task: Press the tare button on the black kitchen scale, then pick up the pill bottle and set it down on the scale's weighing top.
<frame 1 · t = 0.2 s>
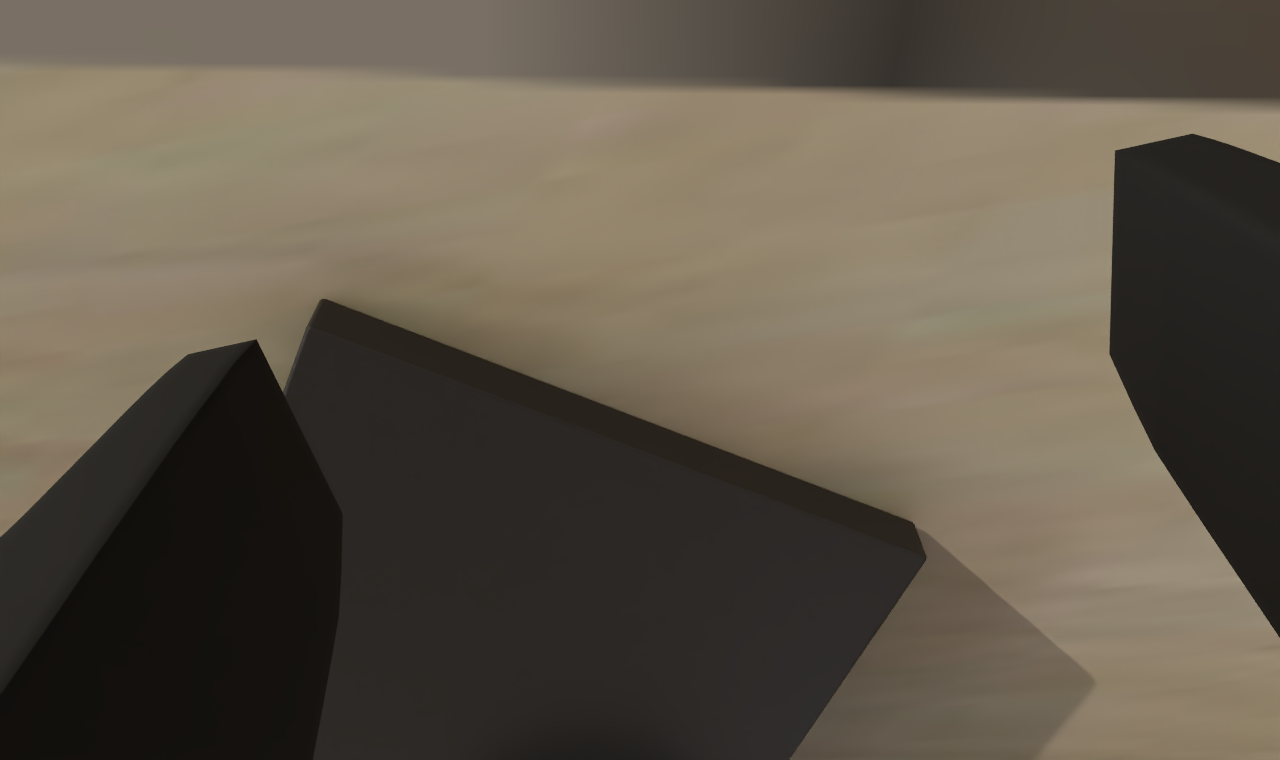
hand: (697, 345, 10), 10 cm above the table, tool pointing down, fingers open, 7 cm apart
scale: (506, 664, 25), on the table
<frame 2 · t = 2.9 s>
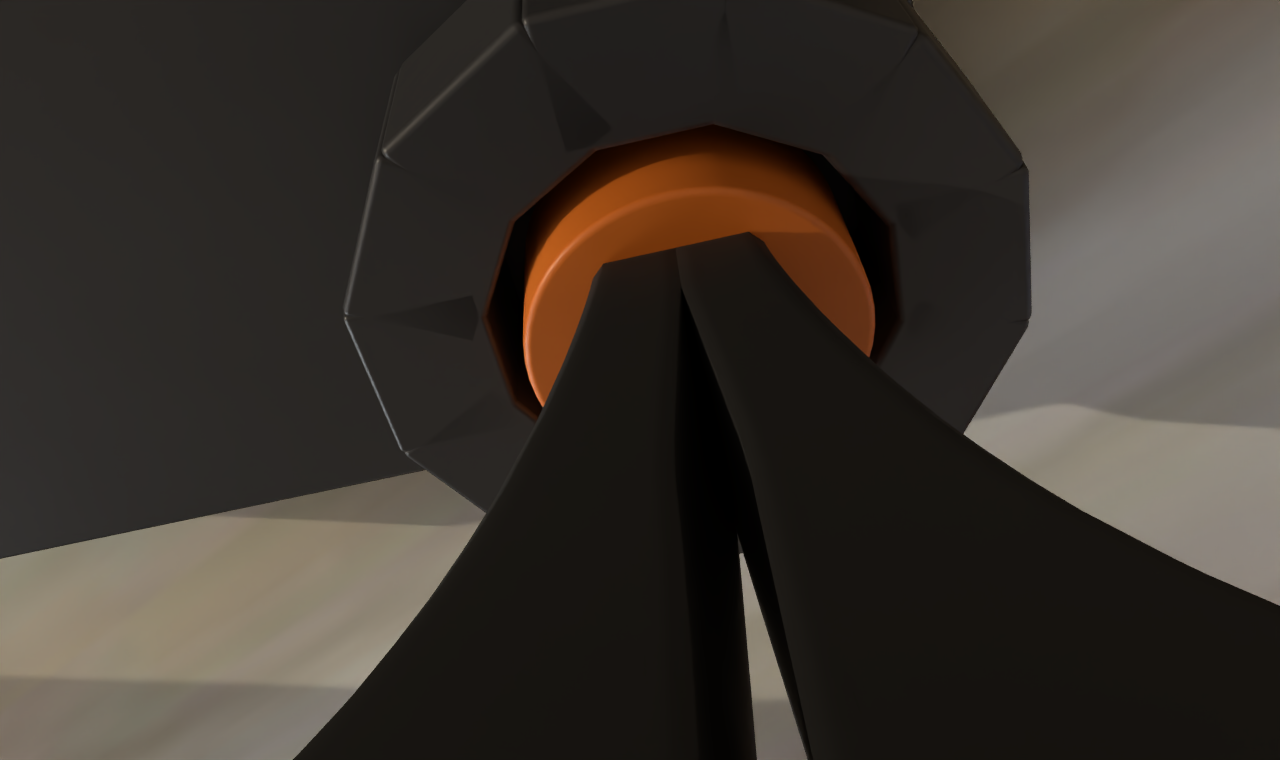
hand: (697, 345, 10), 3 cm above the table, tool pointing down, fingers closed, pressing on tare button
tare button: (691, 298, 11), point 3 cm above the table, slide at -0.6 cm, touching gripper
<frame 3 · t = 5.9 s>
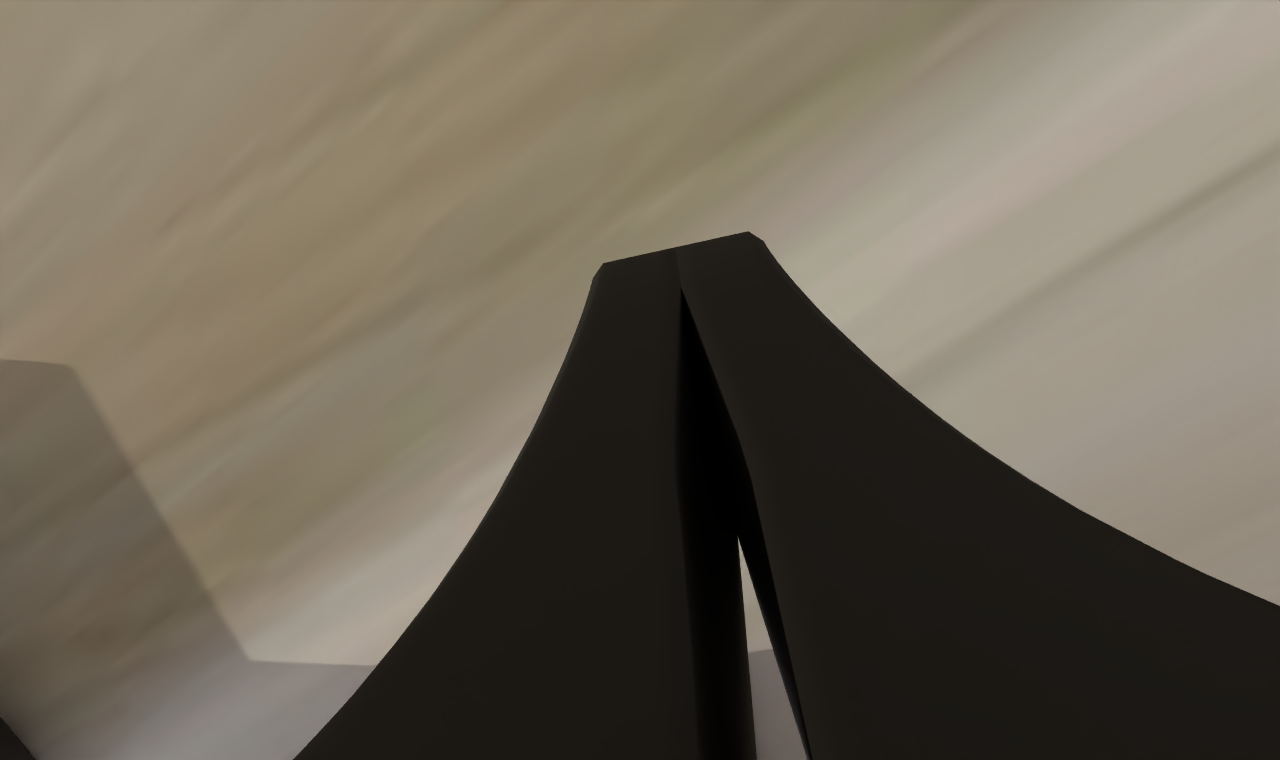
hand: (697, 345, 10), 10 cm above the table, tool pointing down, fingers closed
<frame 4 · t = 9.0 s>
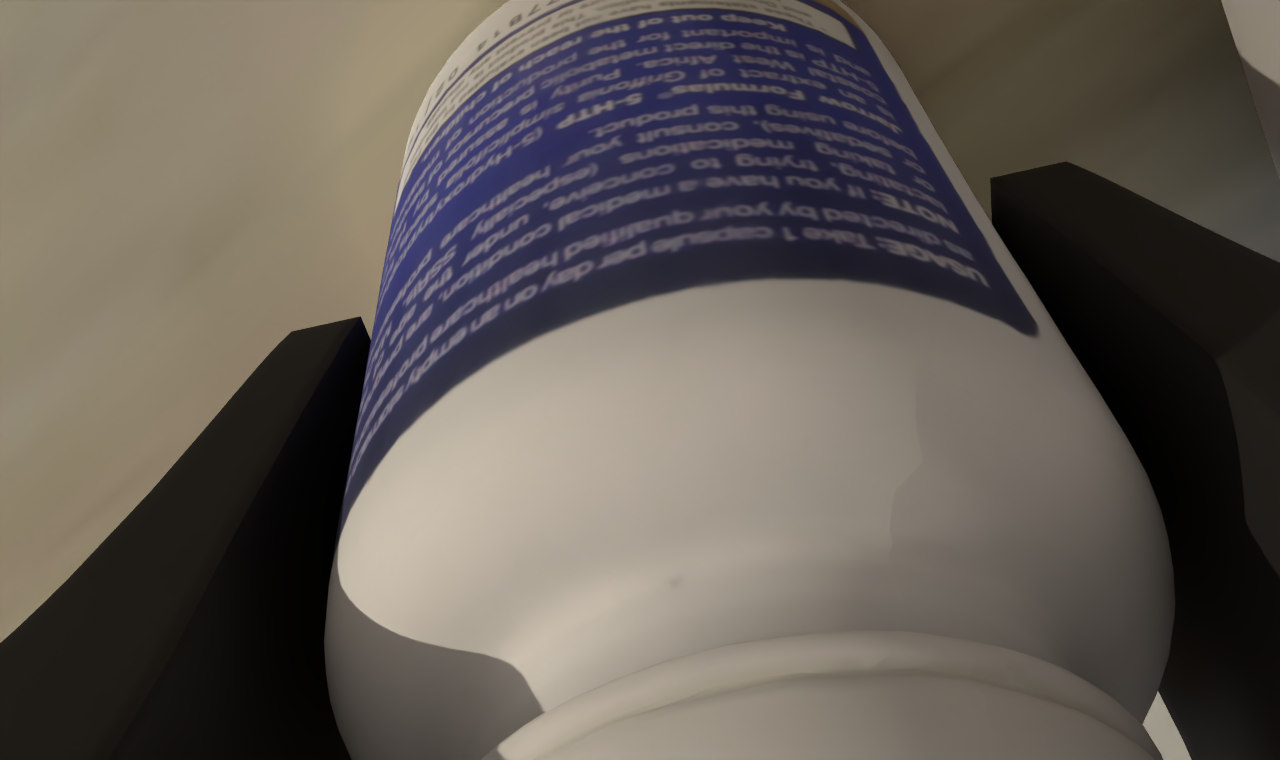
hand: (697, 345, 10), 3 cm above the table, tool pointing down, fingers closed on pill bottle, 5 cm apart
pill bottle: (664, 191, 13), on the table, touching gripper
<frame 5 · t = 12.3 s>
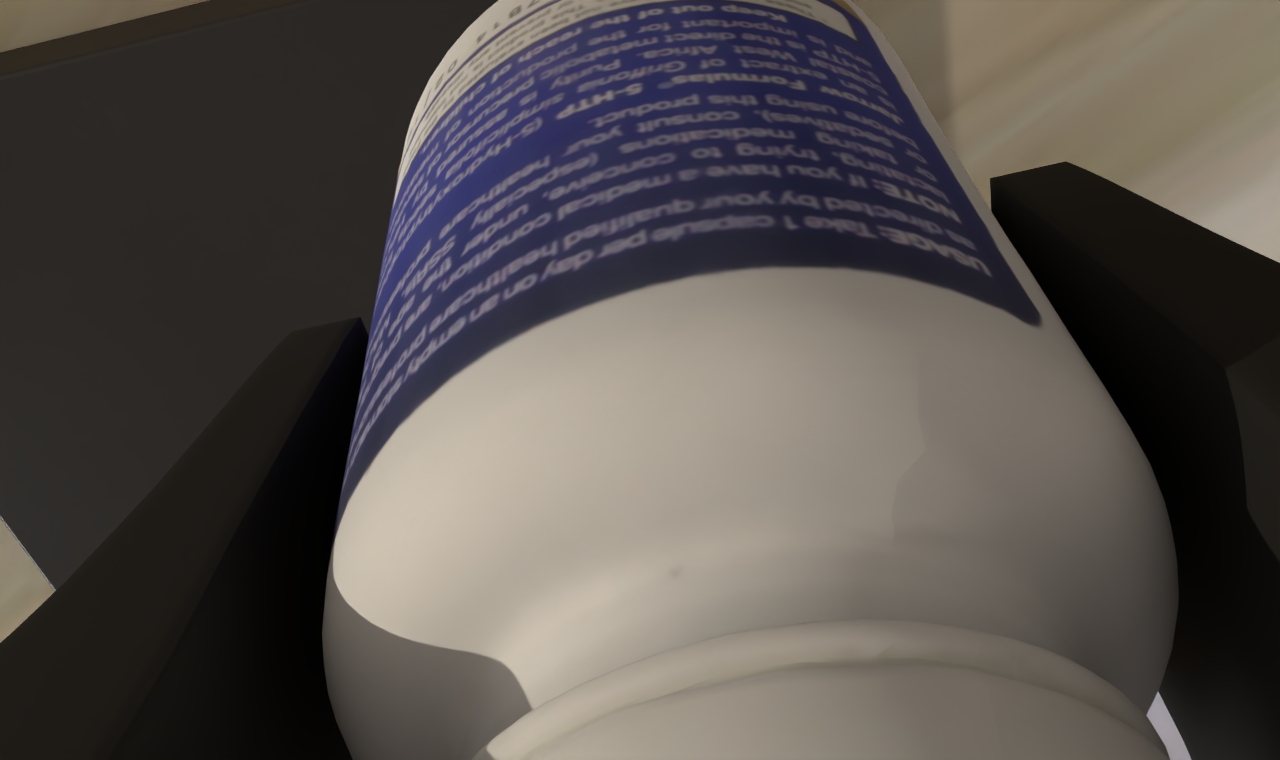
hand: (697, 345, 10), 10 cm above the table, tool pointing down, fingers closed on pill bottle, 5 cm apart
scale: (306, 363, 22), on the table
pill bottle: (664, 185, 13), point 7 cm above the table, touching gripper
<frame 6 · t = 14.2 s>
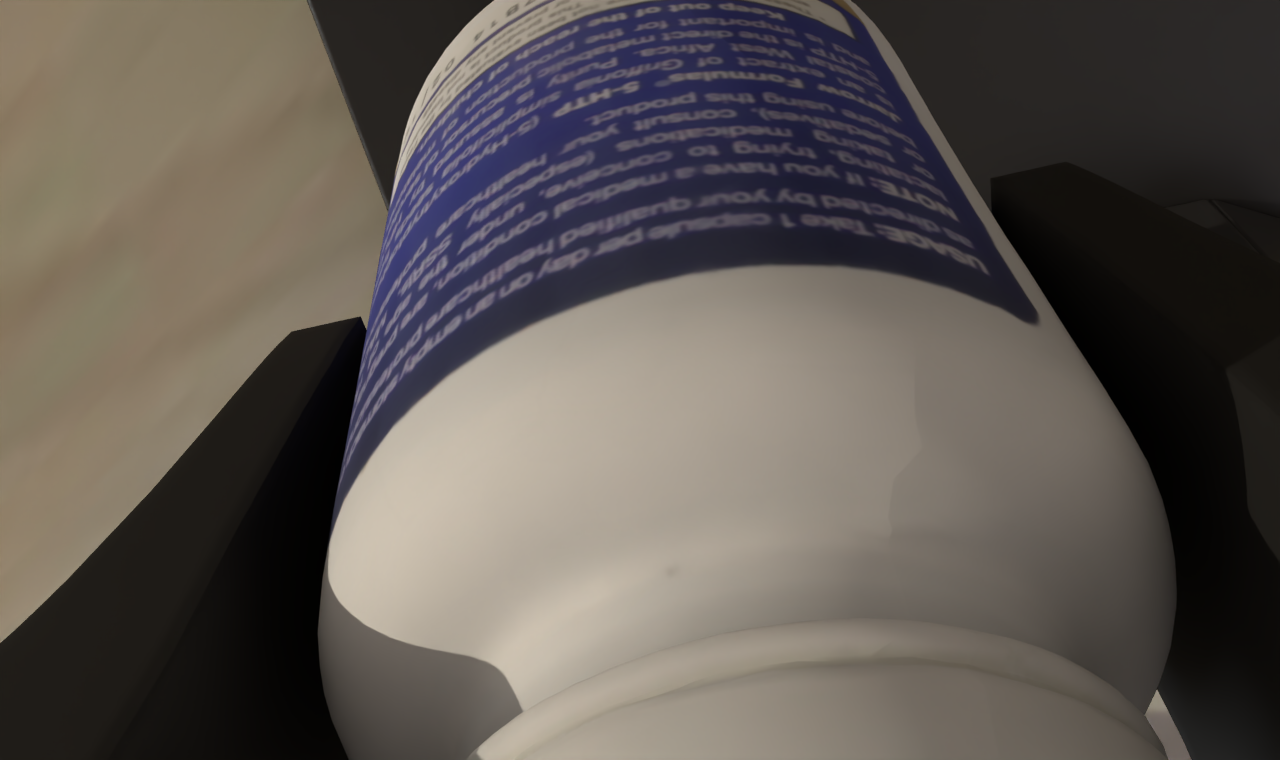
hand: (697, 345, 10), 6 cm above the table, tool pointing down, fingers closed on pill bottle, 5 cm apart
scale: (854, 155, 16), on the table
pill bottle: (662, 184, 12), point 4 cm above the table, touching gripper
when the fingers open (4 cm above the table, at t = 15.6 s): pill bottle stays where it is, resting on scale.
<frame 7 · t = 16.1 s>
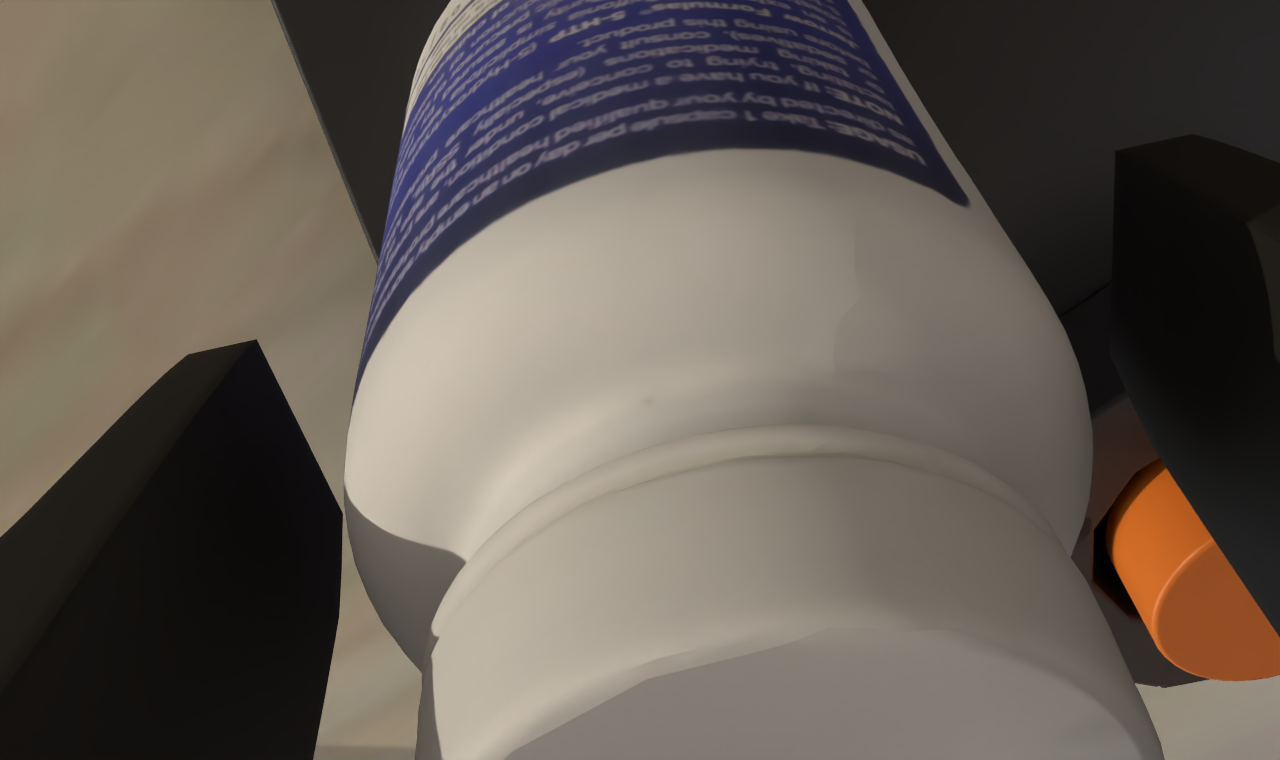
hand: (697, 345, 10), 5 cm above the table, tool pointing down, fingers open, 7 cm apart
tare button: (1250, 552, 15), point 3 cm above the table, slide at 0.1 cm
scale: (873, 198, 15), on the table
pill bottle: (651, 129, 14), point 1 cm above the table, touching scale
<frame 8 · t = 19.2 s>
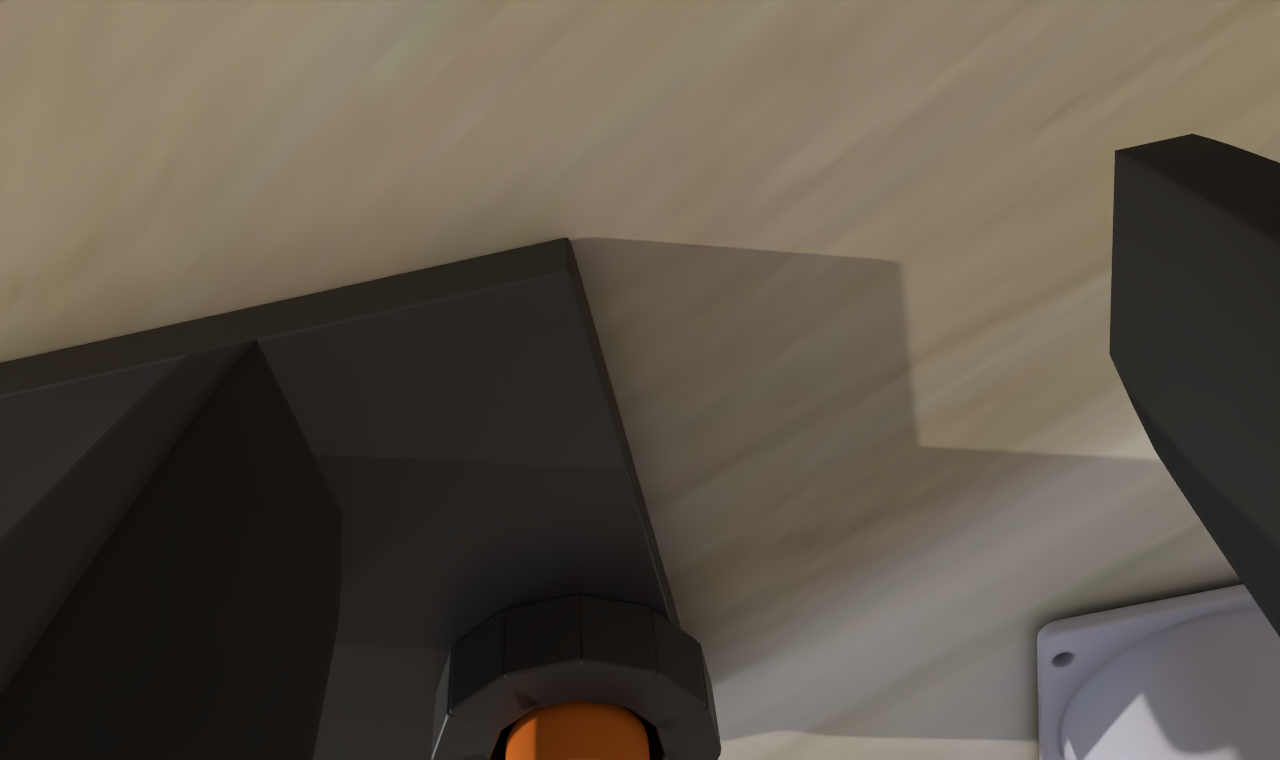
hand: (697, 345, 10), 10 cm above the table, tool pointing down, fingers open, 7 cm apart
scale: (367, 556, 26), on the table
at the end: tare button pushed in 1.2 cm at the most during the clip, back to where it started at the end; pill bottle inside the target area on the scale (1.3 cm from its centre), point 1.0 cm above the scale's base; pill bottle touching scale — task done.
